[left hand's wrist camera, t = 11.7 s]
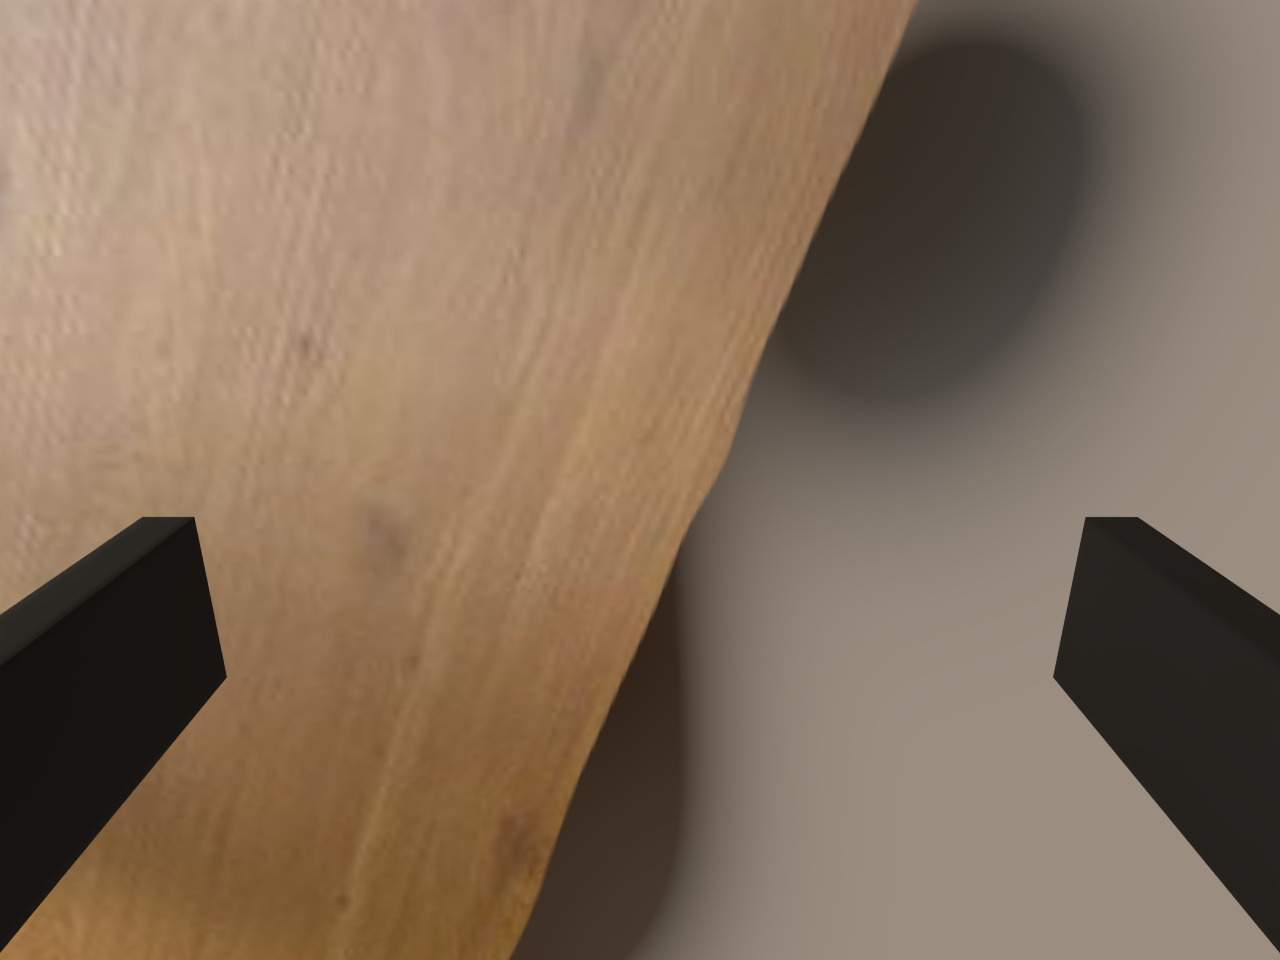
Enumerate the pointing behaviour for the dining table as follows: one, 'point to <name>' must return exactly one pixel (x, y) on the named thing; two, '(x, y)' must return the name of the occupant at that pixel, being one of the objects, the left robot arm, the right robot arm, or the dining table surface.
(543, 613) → the dining table surface
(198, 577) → the left robot arm
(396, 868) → the dining table surface
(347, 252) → the dining table surface
